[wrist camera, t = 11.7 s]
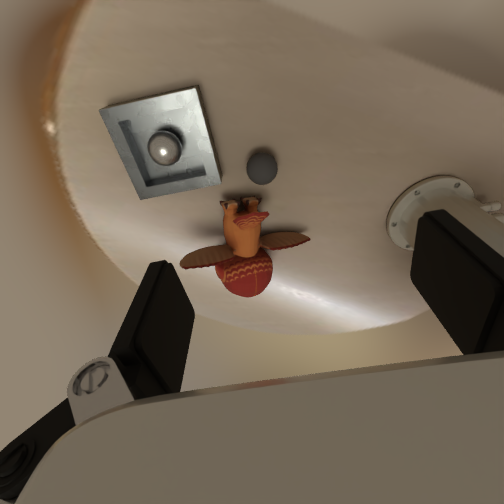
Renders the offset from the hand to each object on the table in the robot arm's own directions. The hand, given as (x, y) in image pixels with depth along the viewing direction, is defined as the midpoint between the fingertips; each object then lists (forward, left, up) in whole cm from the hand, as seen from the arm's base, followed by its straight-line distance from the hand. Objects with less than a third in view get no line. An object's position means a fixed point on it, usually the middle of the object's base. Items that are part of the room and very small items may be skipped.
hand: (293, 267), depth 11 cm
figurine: (+4, +16, -30) cm, 34 cm away
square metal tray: (+11, +1, -30) cm, 32 cm away
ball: (0, +6, -28) cm, 28 cm away
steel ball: (+11, +1, -27) cm, 29 cm away
